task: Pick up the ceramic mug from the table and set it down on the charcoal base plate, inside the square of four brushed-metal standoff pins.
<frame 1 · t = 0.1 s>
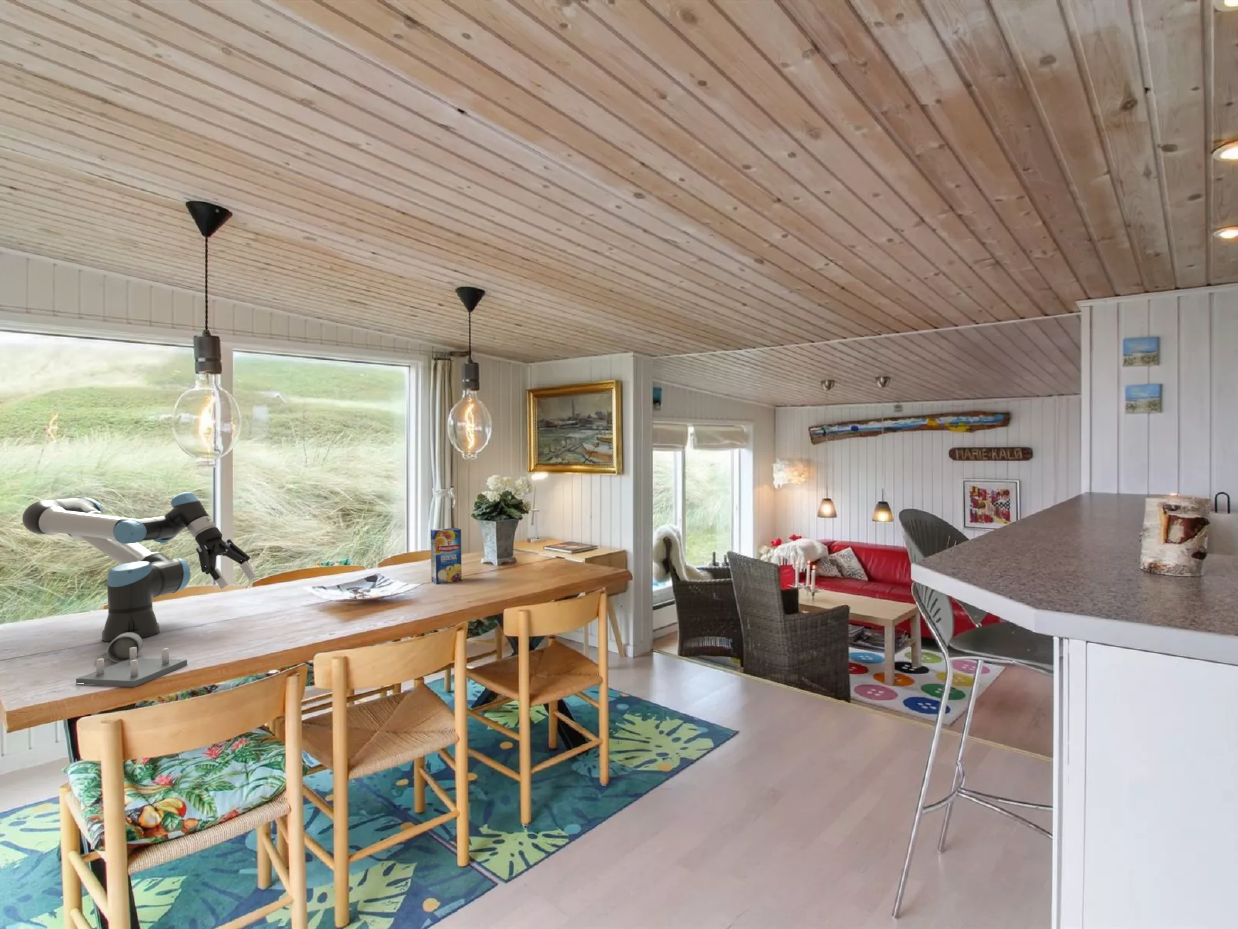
hand: (239, 582, 221), 15 cm above the table, tool tilted 35°, fingers open, 13 cm apart
juice carton: (446, 581, 296), on the table
pin plate: (134, 674, 174), on the table
ceramic mug: (120, 661, 187), on the table
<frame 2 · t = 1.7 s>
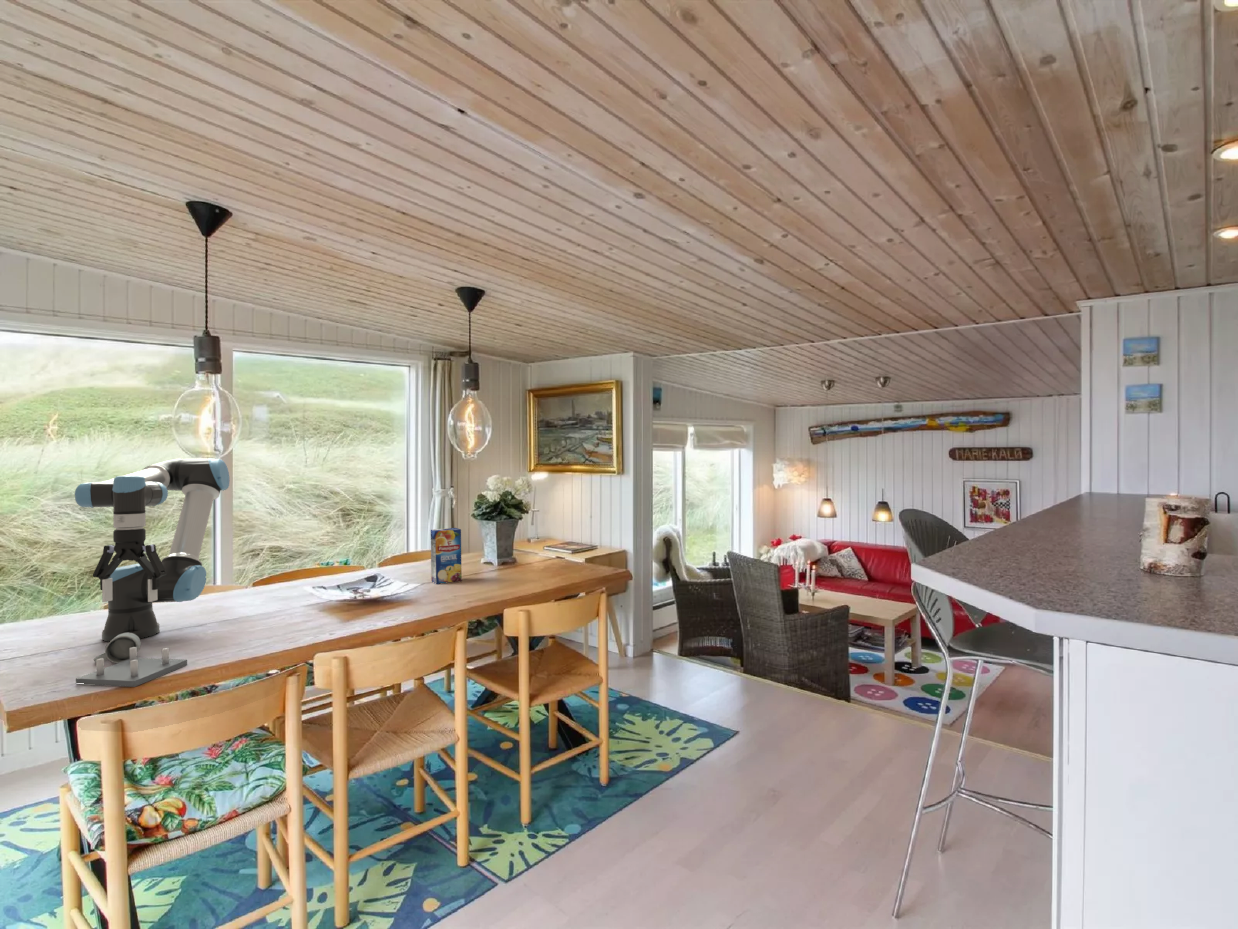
hand: (130, 601, 188), 17 cm above the table, tool pointing down, fingers open, 13 cm apart
nothing on the table moved.
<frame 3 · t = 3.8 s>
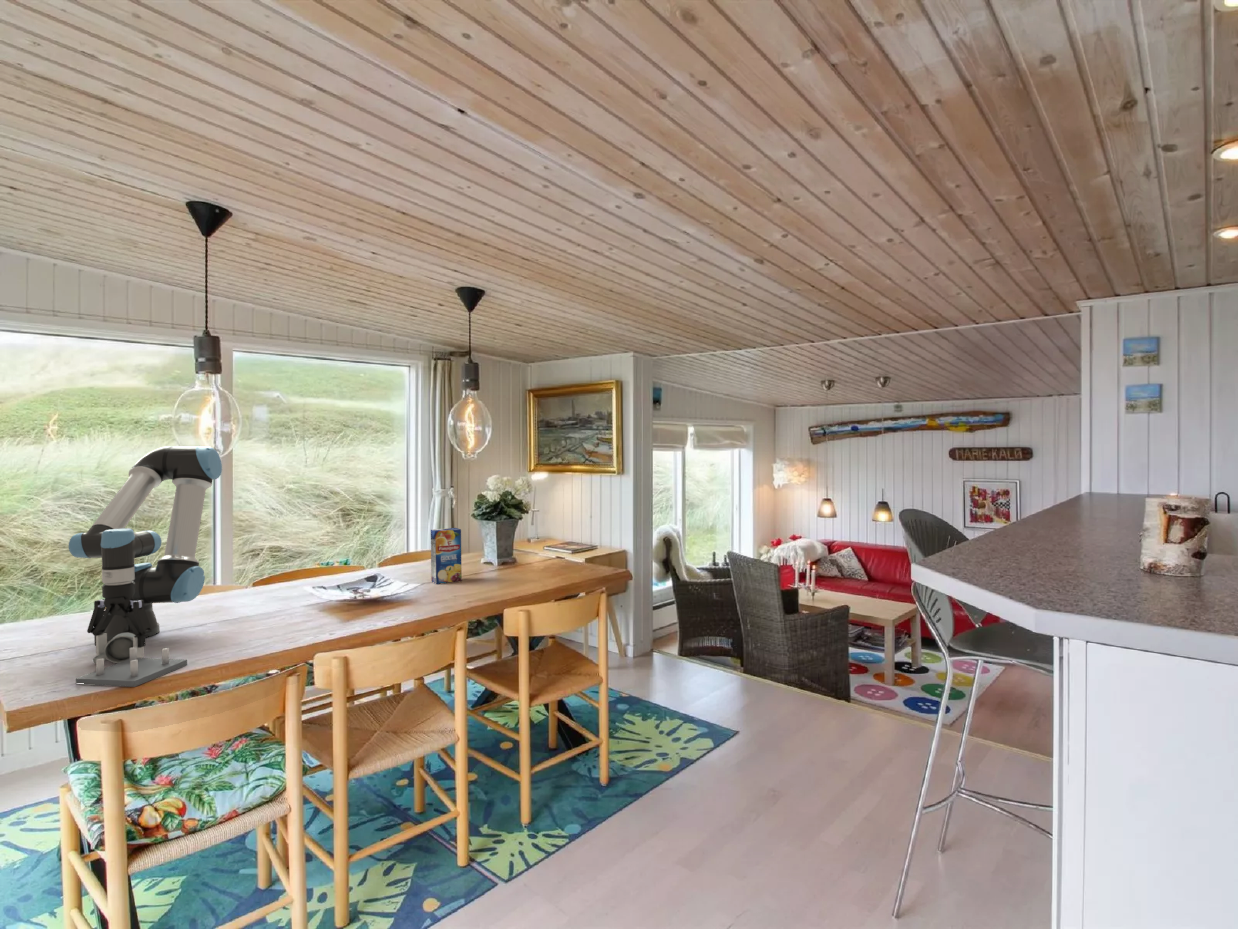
hand: (120, 657, 187), 1 cm above the table, tool pointing down, fingers closed on ceramic mug, 11 cm apart
ceramic mug: (117, 661, 186), on the table, touching gripper
everything else where it was.
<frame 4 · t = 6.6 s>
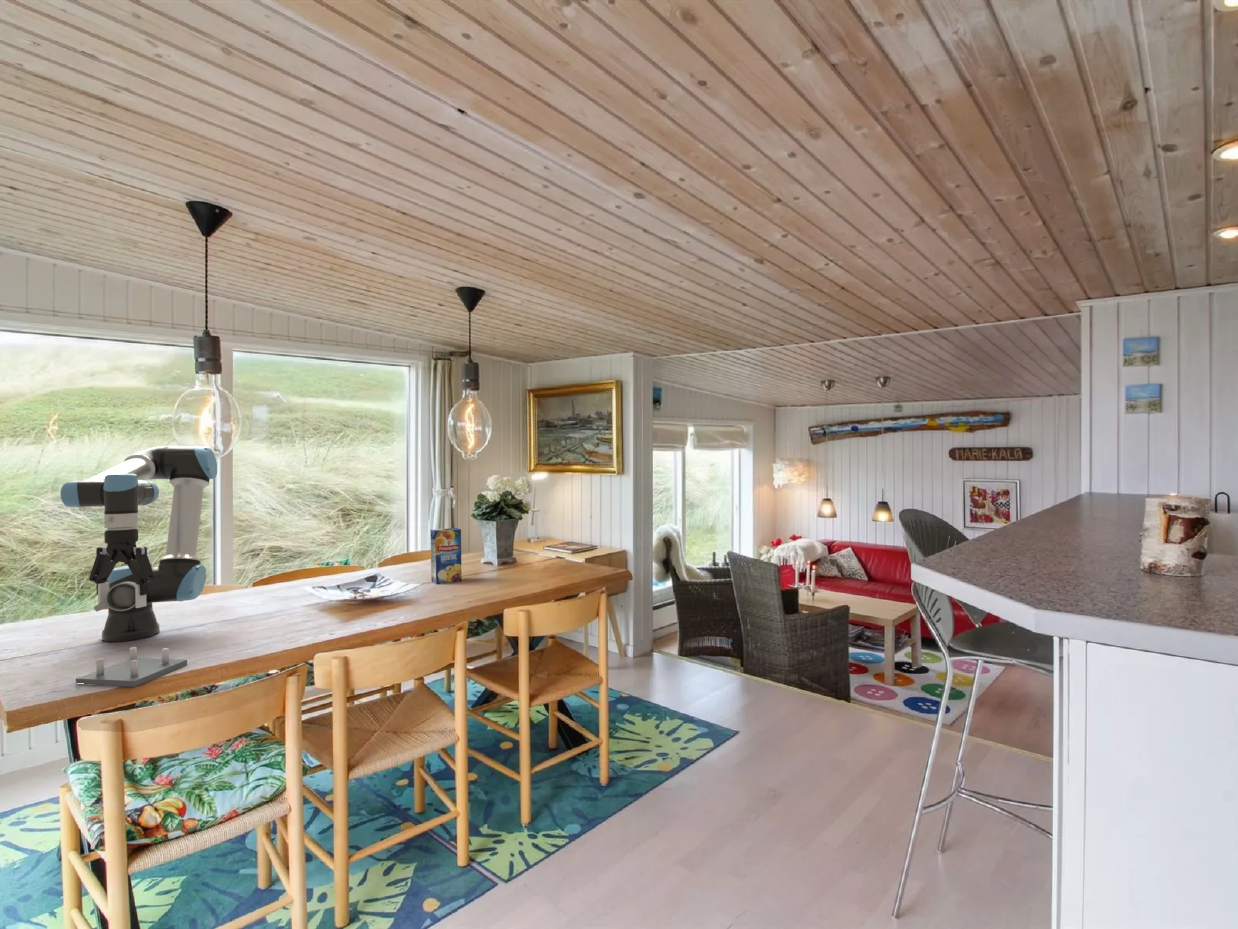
hand: (122, 606, 180), 17 cm above the table, tool pointing down, fingers closed on ceramic mug, 11 cm apart
ceramic mug: (119, 610, 180), point 16 cm above the table, touching gripper
everything else where it was.
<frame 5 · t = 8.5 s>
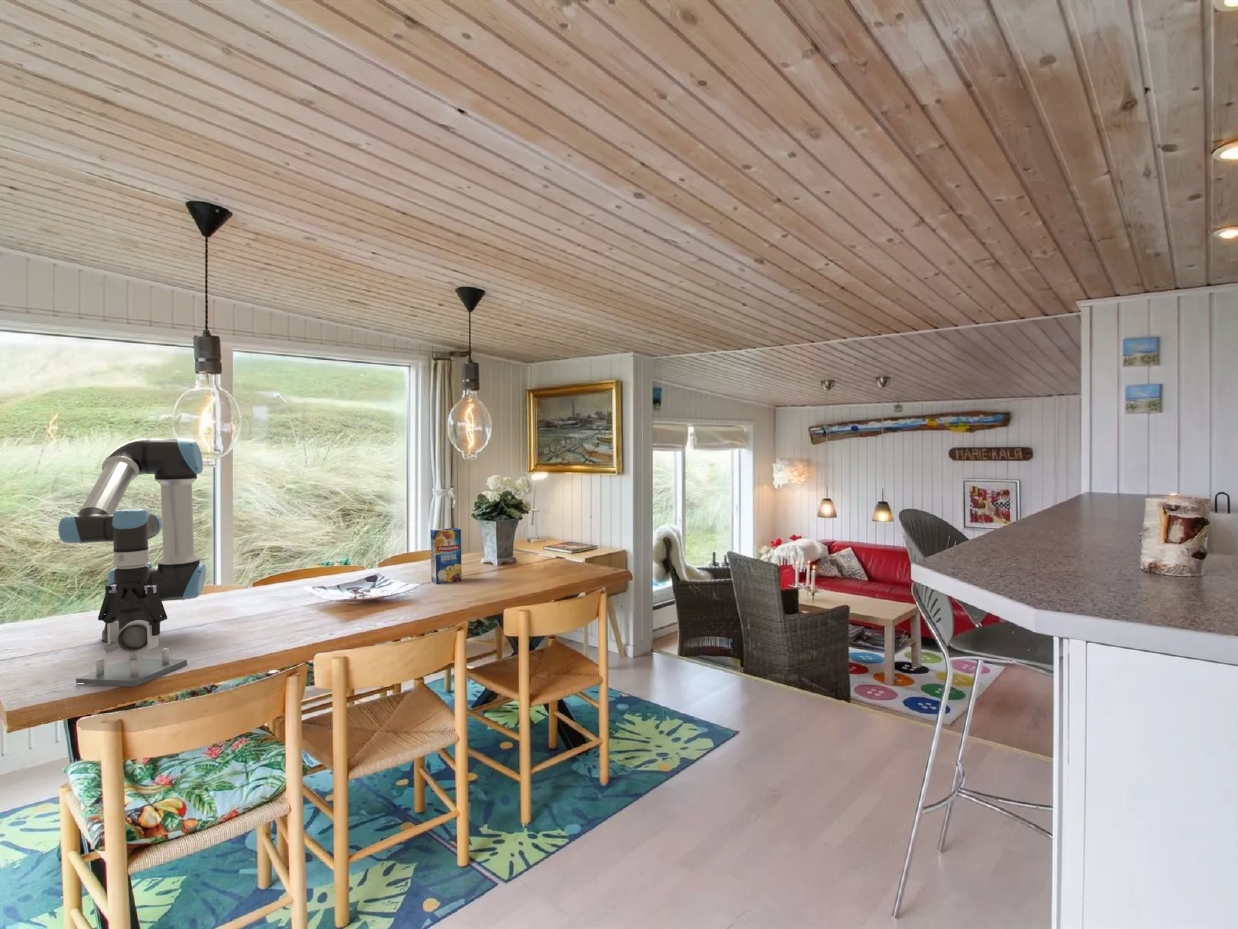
hand: (133, 646, 174), 7 cm above the table, tool pointing down, fingers closed on ceramic mug, 11 cm apart
ceramic mug: (130, 650, 174), point 7 cm above the table, touching gripper
everything else where it was.
when the fingers open (4 cm above the table, at t = 9.7 s): ceramic mug drops 2 cm, resting on pin plate.
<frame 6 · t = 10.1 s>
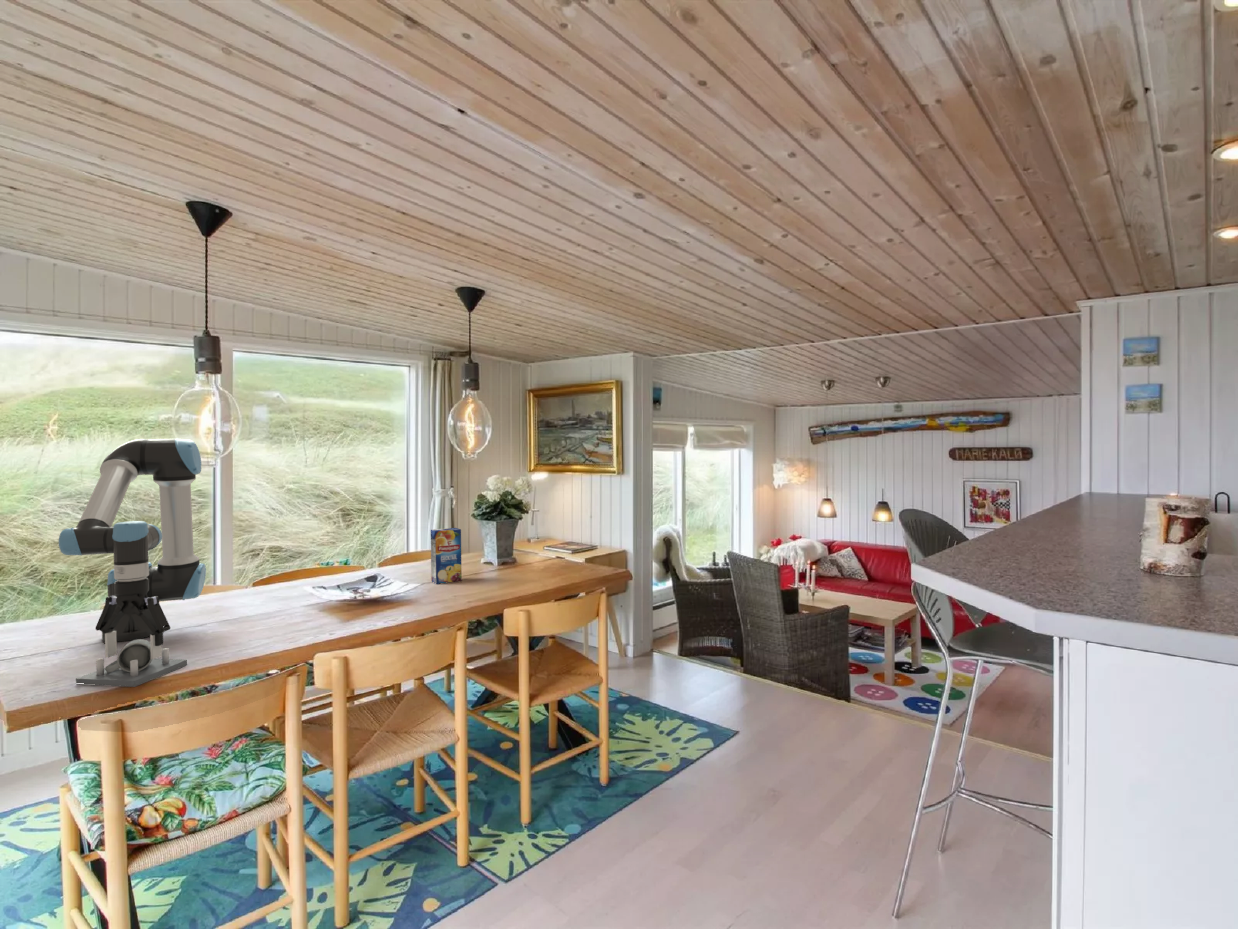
hand: (133, 656, 174), 5 cm above the table, tool pointing down, fingers open, 13 cm apart
ceramic mug: (130, 670, 174), point 1 cm above the table, touching pin plate
everything else where it was.
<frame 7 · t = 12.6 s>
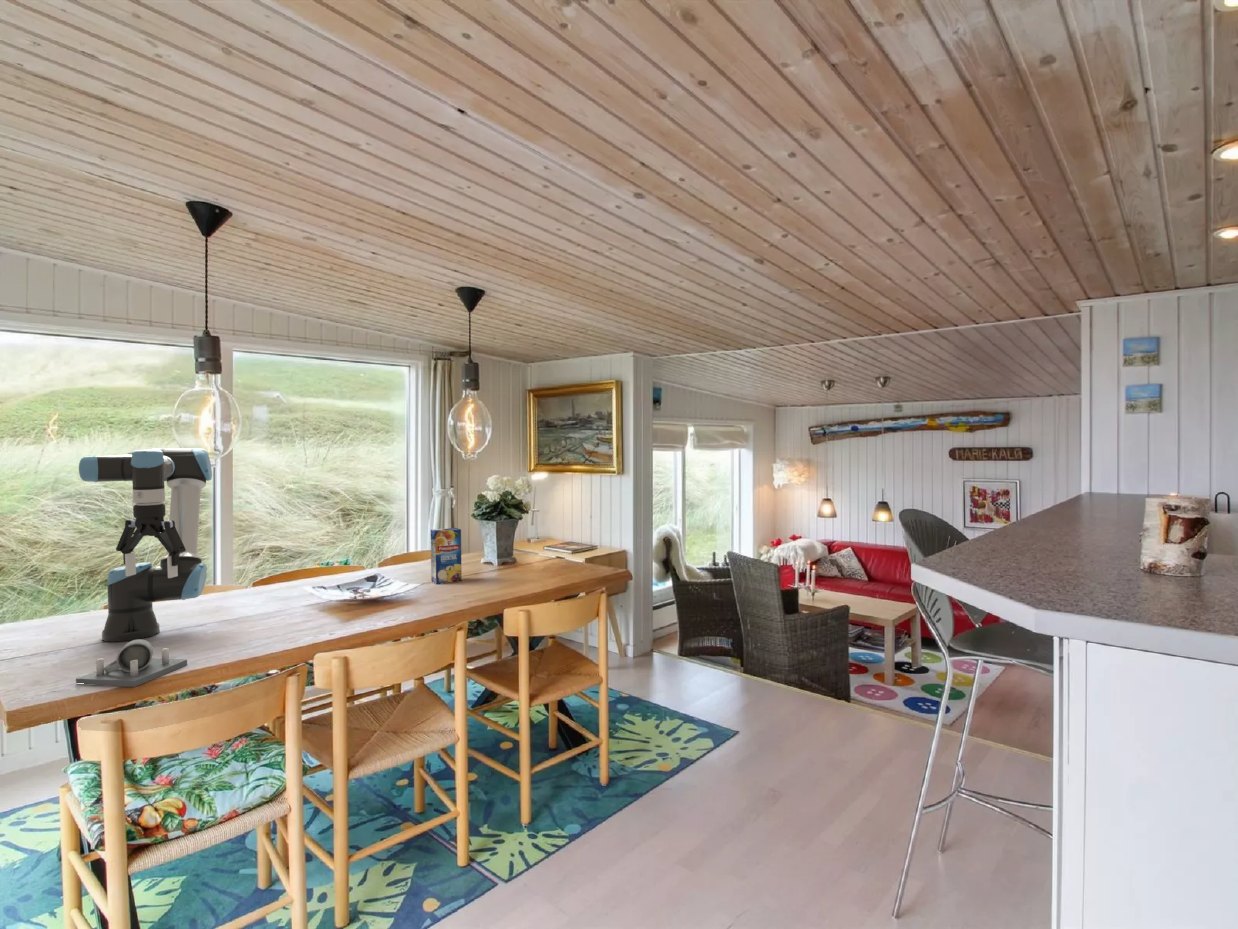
hand: (151, 576, 187), 24 cm above the table, tool pointing down, fingers open, 13 cm apart
nothing on the table moved.
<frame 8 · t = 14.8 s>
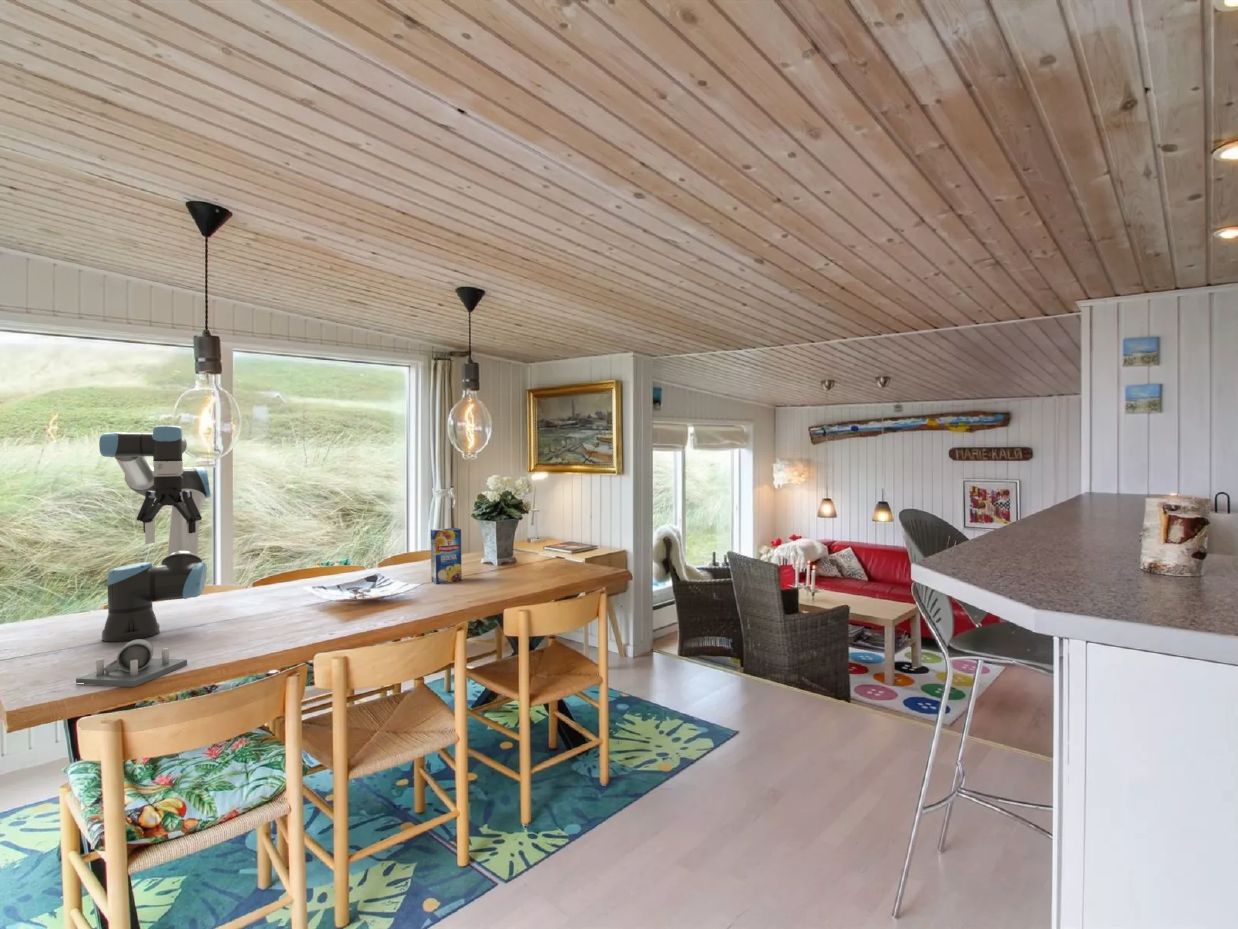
hand: (169, 543, 200), 32 cm above the table, tool pointing down, fingers open, 13 cm apart
nothing on the table moved.
at the end: ceramic mug 0.8 cm off-centre on the pin plate, point 1.3 cm above the pin plate's base; ceramic mug tilted 2°; the gripper is holding nothing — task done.
